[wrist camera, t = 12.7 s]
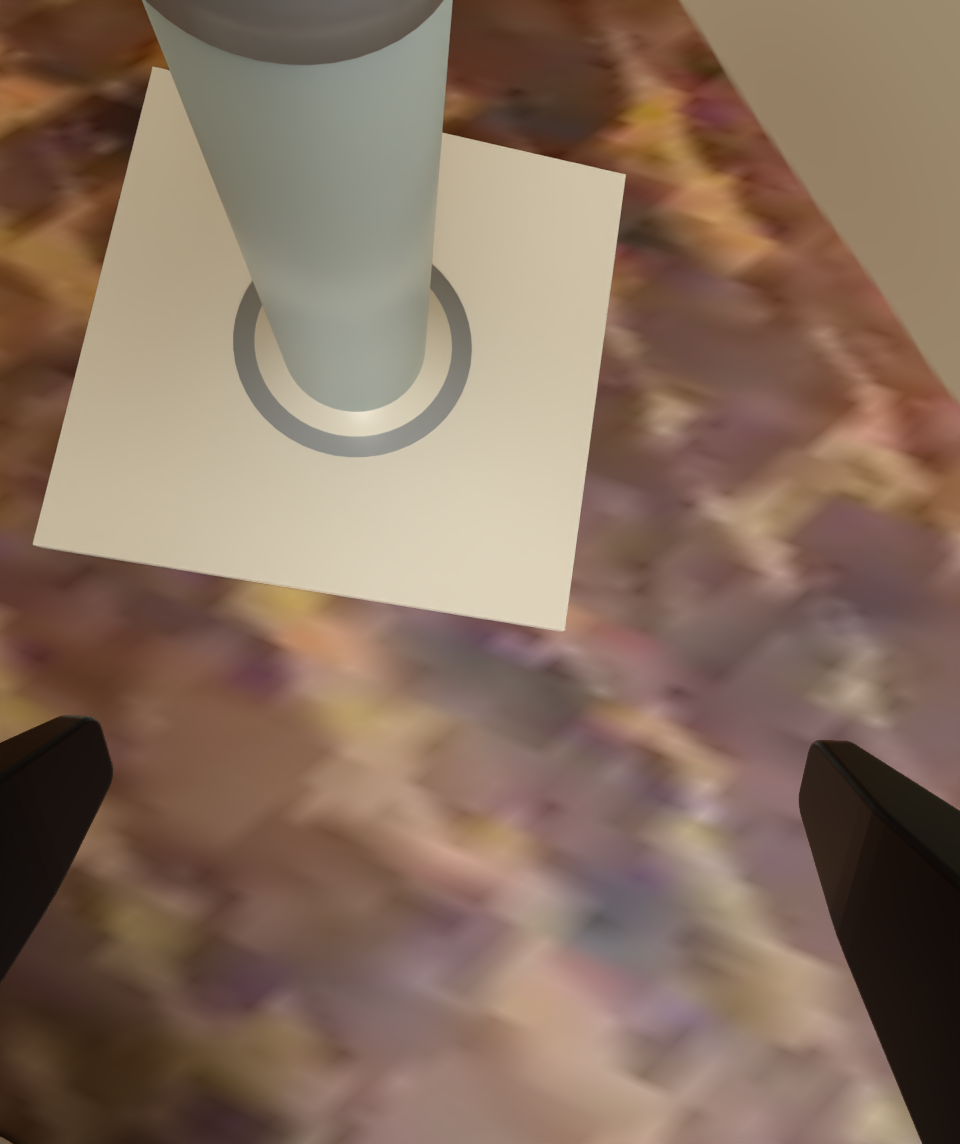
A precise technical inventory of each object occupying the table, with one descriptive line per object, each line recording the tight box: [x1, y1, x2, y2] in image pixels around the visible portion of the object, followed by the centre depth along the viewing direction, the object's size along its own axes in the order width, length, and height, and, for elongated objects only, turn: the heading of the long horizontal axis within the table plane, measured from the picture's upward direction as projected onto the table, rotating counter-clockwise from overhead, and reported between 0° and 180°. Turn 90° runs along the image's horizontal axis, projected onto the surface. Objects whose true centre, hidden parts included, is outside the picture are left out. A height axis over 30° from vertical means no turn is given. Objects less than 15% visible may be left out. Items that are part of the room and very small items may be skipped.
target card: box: [33, 67, 626, 631], centre depth 22 cm, size 16×16×1 cm
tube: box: [142, 0, 453, 412], centre depth 15 cm, size 5×5×14 cm
